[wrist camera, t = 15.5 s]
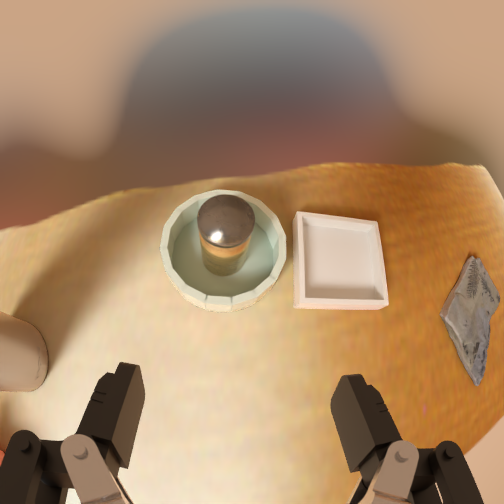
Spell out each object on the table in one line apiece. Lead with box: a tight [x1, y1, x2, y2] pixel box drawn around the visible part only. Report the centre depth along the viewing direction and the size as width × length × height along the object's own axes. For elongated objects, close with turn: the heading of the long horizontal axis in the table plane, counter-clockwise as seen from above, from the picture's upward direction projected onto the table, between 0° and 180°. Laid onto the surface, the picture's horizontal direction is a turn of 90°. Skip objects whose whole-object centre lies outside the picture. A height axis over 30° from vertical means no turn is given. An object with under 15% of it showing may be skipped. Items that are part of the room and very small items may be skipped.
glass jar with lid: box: [197, 194, 255, 276], centre depth 28 cm, size 5×5×8 cm
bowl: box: [160, 189, 286, 312], centre depth 31 cm, size 13×13×4 cm
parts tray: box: [292, 211, 389, 310], centre depth 33 cm, size 11×11×2 cm
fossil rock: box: [440, 256, 500, 386], centre depth 33 cm, size 18×15×2 cm
